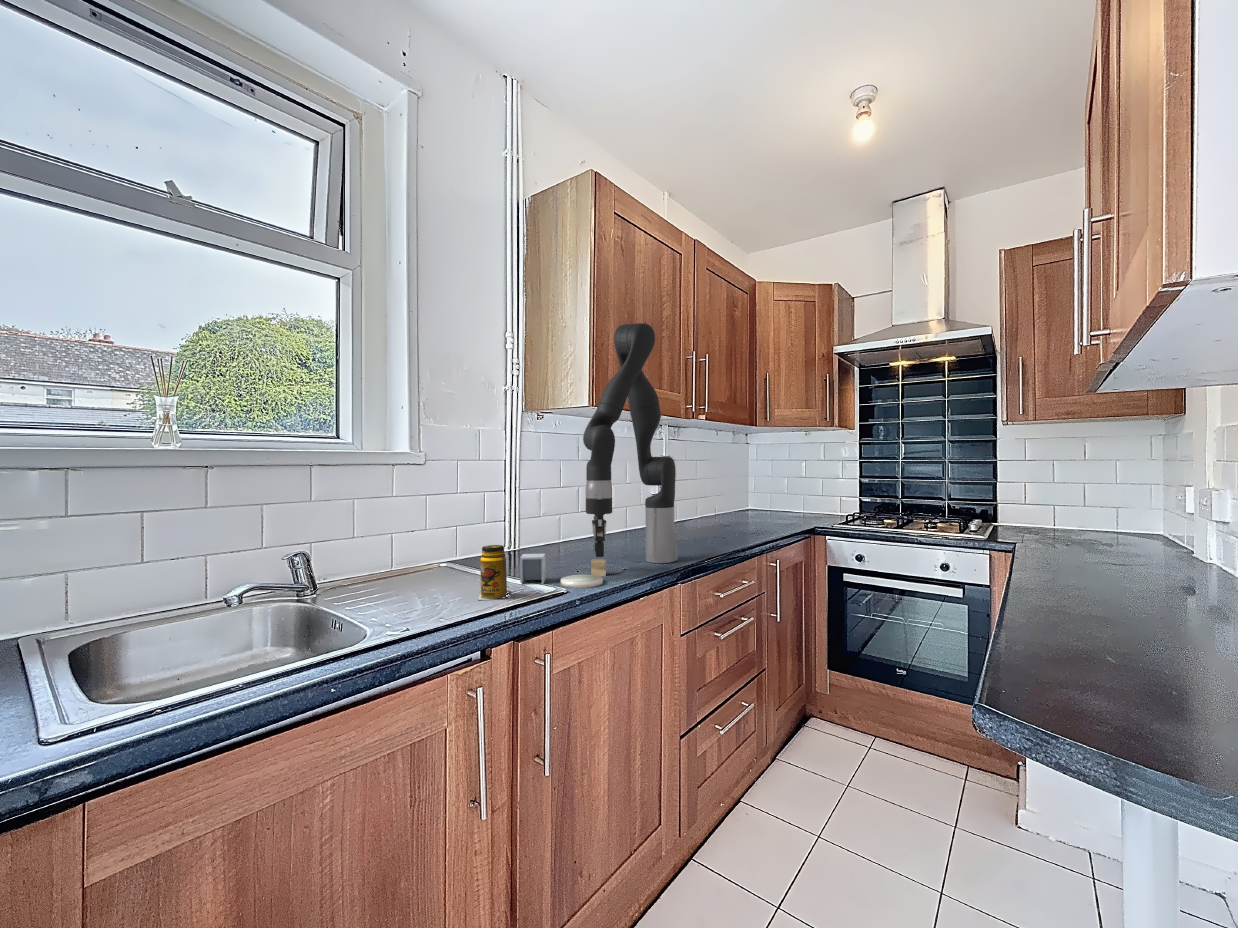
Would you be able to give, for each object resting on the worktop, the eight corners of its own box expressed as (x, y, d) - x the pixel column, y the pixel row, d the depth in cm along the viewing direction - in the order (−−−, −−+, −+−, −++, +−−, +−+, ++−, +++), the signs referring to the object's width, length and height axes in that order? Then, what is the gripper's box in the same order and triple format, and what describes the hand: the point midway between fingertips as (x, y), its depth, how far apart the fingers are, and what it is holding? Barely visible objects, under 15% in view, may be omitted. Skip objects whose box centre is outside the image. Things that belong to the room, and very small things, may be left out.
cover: (523, 579, 151) (523, 553, 151) (545, 579, 152) (545, 553, 152) (520, 584, 145) (520, 557, 145) (543, 583, 146) (543, 557, 146)
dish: (589, 577, 153) (589, 572, 153) (610, 584, 144) (610, 579, 144) (553, 582, 147) (553, 577, 147) (573, 589, 138) (573, 584, 138)
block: (591, 573, 159) (591, 559, 159) (605, 573, 159) (605, 559, 159) (591, 576, 155) (591, 562, 155) (605, 576, 155) (605, 561, 155)
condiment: (478, 600, 129) (477, 548, 129) (479, 592, 137) (479, 543, 137) (510, 598, 130) (509, 547, 130) (510, 590, 138) (509, 542, 138)
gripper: (585, 495, 163) (585, 551, 163) (585, 497, 149) (586, 558, 149) (610, 495, 164) (611, 551, 164) (613, 497, 150) (614, 558, 149)
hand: (599, 554), depth 156 cm, fingers open, 8 cm apart
